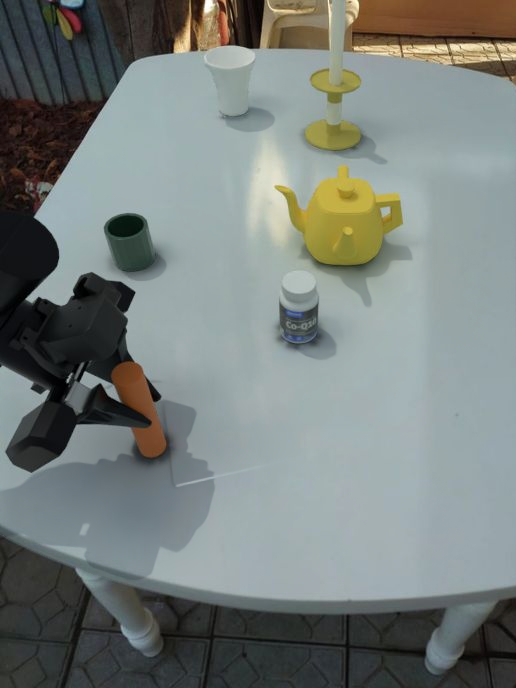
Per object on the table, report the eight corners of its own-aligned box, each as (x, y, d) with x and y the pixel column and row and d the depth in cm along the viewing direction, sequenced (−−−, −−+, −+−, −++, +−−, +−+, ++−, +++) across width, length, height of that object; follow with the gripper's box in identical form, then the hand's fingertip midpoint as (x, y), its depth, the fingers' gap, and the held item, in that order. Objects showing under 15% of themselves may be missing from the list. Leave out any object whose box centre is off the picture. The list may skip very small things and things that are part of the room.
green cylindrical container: (115, 274, 79) (105, 242, 75) (112, 248, 82) (102, 216, 78) (157, 267, 80) (150, 235, 76) (152, 241, 84) (144, 209, 79)
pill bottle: (284, 348, 72) (283, 299, 65) (276, 320, 74) (274, 271, 68) (322, 340, 72) (324, 292, 66) (312, 314, 75) (313, 264, 69)
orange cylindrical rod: (141, 460, 61) (112, 388, 51) (138, 438, 63) (109, 365, 53) (168, 453, 62) (144, 381, 52) (164, 432, 63) (140, 358, 54)
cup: (201, 104, 109) (194, 49, 102) (247, 94, 112) (243, 40, 105) (219, 127, 104) (212, 70, 97) (266, 116, 107) (264, 60, 100)
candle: (362, 151, 101) (378, -28, 80) (304, 149, 100) (305, -30, 80) (360, 121, 107) (374, -51, 87) (305, 119, 107) (306, -53, 86)
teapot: (275, 242, 84) (272, 183, 77) (340, 204, 91) (343, 145, 83) (344, 291, 78) (348, 232, 71) (408, 246, 85) (418, 187, 77)
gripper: (-15, 377, 38) (176, 476, 46) (88, 207, 51) (226, 309, 58) (-73, 429, 45) (104, 509, 53) (31, 267, 57) (163, 351, 65)
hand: (154, 412), depth 57 cm, fingers closed on orange cylindrical rod, 3 cm apart
